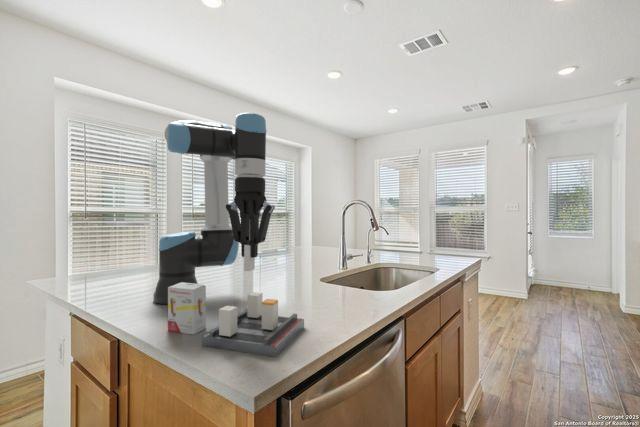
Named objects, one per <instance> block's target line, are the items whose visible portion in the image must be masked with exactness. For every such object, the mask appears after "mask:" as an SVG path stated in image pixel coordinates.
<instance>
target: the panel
mask: <svg viewBox="0 0 640 427" xmlns="http://www.w3.org/2000/svg"><path fill="white" fill-rule="evenodd" d="M304 328H305V318H300V317H299V318H298V313H292V315H290V316H283V315H282V316H281V315H278V326H277V327H276V328H275V329H274V330H267V329H262V315H261V316H260V317H258V318H253V317H247V309H245V310H243V311H241V312H240V313H237V332H236V333H235V334H233V335H232V336H230V337H229V336H222V335H219V325H218V326H216V327H214V328H213V329H210V330H209V331H207V332H206V333H204V334H202V335H201V346H203V347H208V348H213V349H214V348H215V349H222V350H228V351H235V352H241V353H245V354H246V353H247V354H254V355H259V356H265V357H274V358H277V357H278V356H279V354H281V353H282V351H283V350H285V348H286V347H287V346H288V345H289V344H290V343H291V342H292V341H293V340H294V339H295V338H296V337H297V335H299V333H301V331H302V330H304Z"/></svg>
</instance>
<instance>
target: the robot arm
mask: <svg viewBox="0 0 640 427" xmlns="http://www.w3.org/2000/svg"><path fill="white" fill-rule="evenodd" d="M234 122H235V123H234V128H232V126H230V125H227V124H222V123H215V122H207V121H198V120H192V119H186V120H185V119H184V120H177V121H173V122H170V123H168V124H167V126H166V127H165V130H164V137H165V141H166V145H167V150H168V152H171V153H177V154H181V155H196V156H198V155H199V159H200V160H201V161H202V162H203V163H204V164H203V166H204V167H203V169H204V171H203V172H204V222H205V223H204V227H202V229H200V234H198V235H197V234H196V232H195V231H194V230H193V231H192V230H190V231H181V232H174V233H169V234H165V235H162V237H161V238H160V239H159V245H158V246H159V247H158V252H159V255H158V256H159V260H158V262H159V263H158V264H159V266H158V269H159V270H158V281H157V283H156V285H155V286H156V287H155V291H154V292H153V298H152V299H153V300H152V301H153V303H155V304H160V305H168V287H170V286H173V285H175V284H178V283H181V282H184V283H194V284H199V283H198V281H197V277H196V268H206V267H207V268H209V267H217V266H218V267H223V266H227V265H232V264H233V263H235V261H236V259H237V257H238V252H239V245H241V252H240V253H241V257H242V258H243V259H244V260H243V271H244V272H251V271H254V270H256V269H255V268H256V266H255V263H256V262H255V261H256V260H255V259H256V258H257V257H258V254H259V253H258V252H259V249H258V248H259V247H258V246H259V244H261V243H263V242H265V240H266V237H267V233H268V229H269V226H270V225H269V224H270V220H271V216H272V213H273V212H274V210H275V208H276V206H275V205H274V204H271V203H269V202H268V201H267V197H266V195H265V194H266V179H265V178H264V177H266V154H267V152H266V151H267V150H266V149H267V148H266V146H267V144H266V141H267V125H266V118H265V117H264V116H263V115H260V114H258V113H252V112H242V113H239V114H237V115H236V117H235V120H234ZM232 160H234V174H235V176H237V177H235V178H234V192H235V196H234V199H233V201H232V202H231V203H229V201H230V200H229V163H230V162H231V161H232ZM238 210H239V211H238ZM261 210H263V211H262V214H261ZM260 216H261V217H260ZM230 225H231V226H230Z"/></svg>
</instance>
